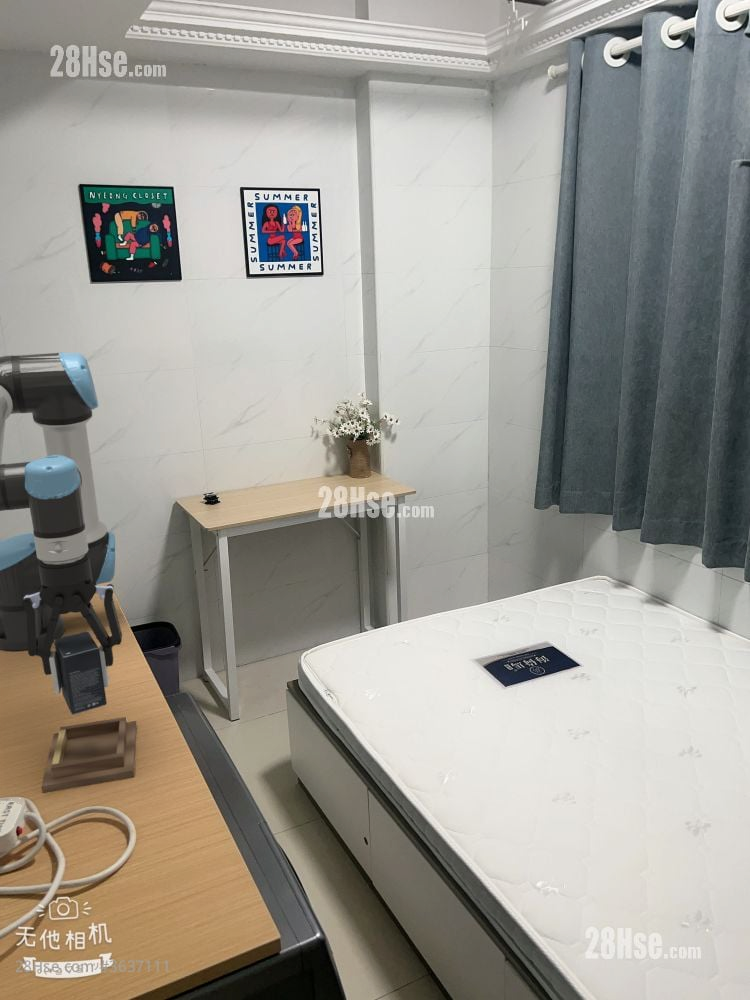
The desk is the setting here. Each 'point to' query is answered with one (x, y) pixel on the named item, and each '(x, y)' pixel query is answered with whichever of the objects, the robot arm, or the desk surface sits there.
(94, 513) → the robot arm
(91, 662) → the box
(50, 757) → the socket
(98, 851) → the desk surface
